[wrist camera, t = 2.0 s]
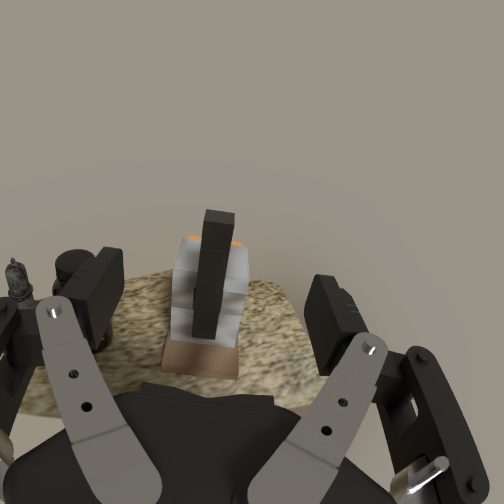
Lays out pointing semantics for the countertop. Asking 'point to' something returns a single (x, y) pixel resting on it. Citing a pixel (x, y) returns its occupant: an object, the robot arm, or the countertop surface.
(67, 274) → the supplement bottle
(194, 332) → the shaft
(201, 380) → the countertop surface
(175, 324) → the stand
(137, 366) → the countertop surface
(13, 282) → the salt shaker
